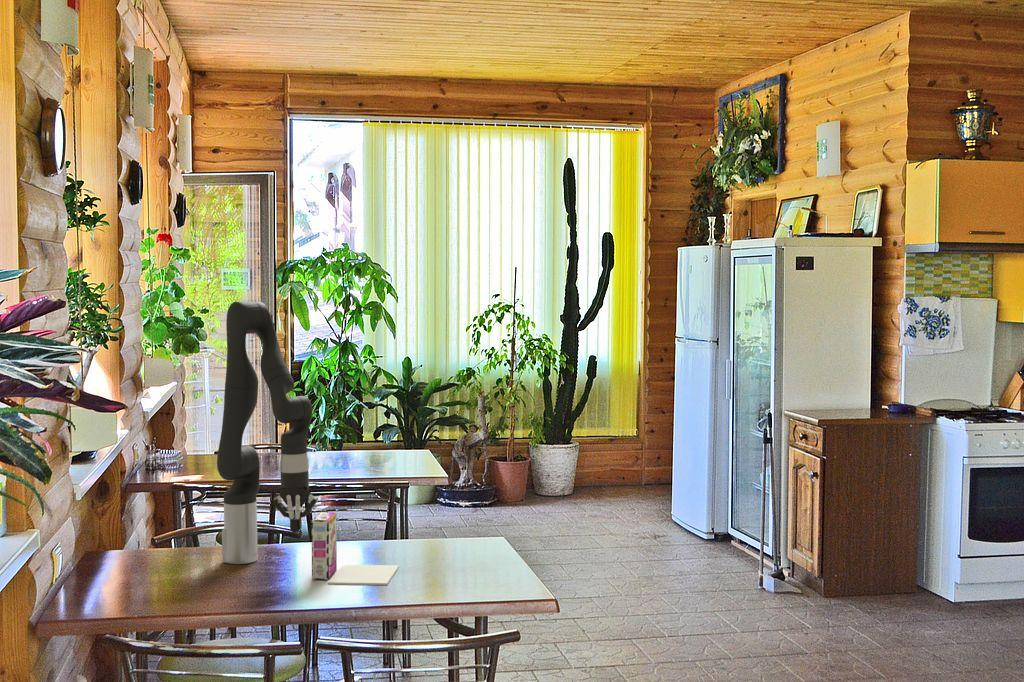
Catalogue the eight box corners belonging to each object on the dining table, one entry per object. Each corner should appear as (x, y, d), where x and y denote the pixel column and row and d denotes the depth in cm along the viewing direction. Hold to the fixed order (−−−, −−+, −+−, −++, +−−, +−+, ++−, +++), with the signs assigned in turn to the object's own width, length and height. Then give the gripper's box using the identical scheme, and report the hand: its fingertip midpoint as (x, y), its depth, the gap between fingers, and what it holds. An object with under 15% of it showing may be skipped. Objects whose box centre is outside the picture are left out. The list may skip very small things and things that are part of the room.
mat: (327, 584, 288) (327, 582, 288) (343, 566, 306) (343, 564, 306) (387, 585, 287) (387, 583, 286) (399, 567, 304) (399, 565, 304)
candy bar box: (329, 580, 291) (328, 520, 290) (311, 580, 291) (310, 520, 290) (338, 569, 302) (337, 511, 301) (320, 569, 302) (319, 511, 302)
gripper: (266, 471, 293) (268, 535, 293) (314, 471, 292) (316, 535, 292) (274, 467, 300) (276, 529, 301) (321, 467, 299) (323, 528, 300)
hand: (296, 531), depth 297 cm, fingers closed
